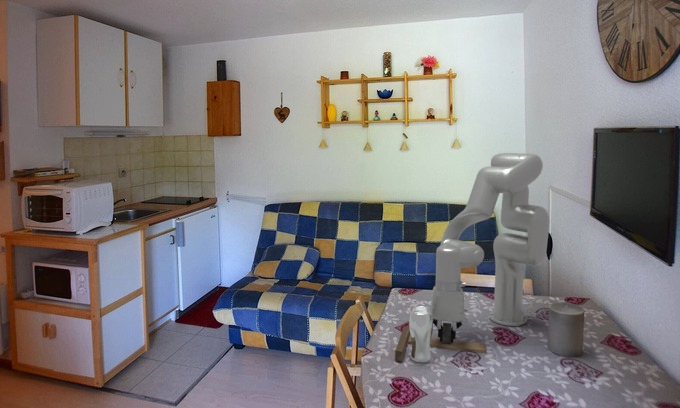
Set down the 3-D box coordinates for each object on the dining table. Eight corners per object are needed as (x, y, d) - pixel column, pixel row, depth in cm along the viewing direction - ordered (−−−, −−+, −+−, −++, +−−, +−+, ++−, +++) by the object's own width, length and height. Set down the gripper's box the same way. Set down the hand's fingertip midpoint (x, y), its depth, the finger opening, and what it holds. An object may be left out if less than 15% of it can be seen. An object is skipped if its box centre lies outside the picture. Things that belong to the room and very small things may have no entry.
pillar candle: (579, 345, 138) (581, 299, 135) (585, 359, 128) (587, 311, 126) (545, 341, 141) (547, 296, 139) (548, 355, 132) (550, 307, 130)
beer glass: (432, 364, 127) (433, 315, 125) (408, 362, 129) (408, 314, 126) (432, 353, 134) (433, 306, 132) (409, 351, 135) (409, 305, 133)
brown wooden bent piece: (485, 345, 138) (486, 325, 137) (487, 374, 121) (488, 351, 120) (404, 336, 146) (404, 316, 145) (395, 361, 129) (395, 340, 128)
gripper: (475, 283, 137) (473, 338, 140) (423, 279, 142) (422, 332, 145) (475, 291, 130) (473, 348, 133) (420, 286, 135) (419, 342, 138)
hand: (446, 339), depth 139 cm, fingers open, 2 cm apart
